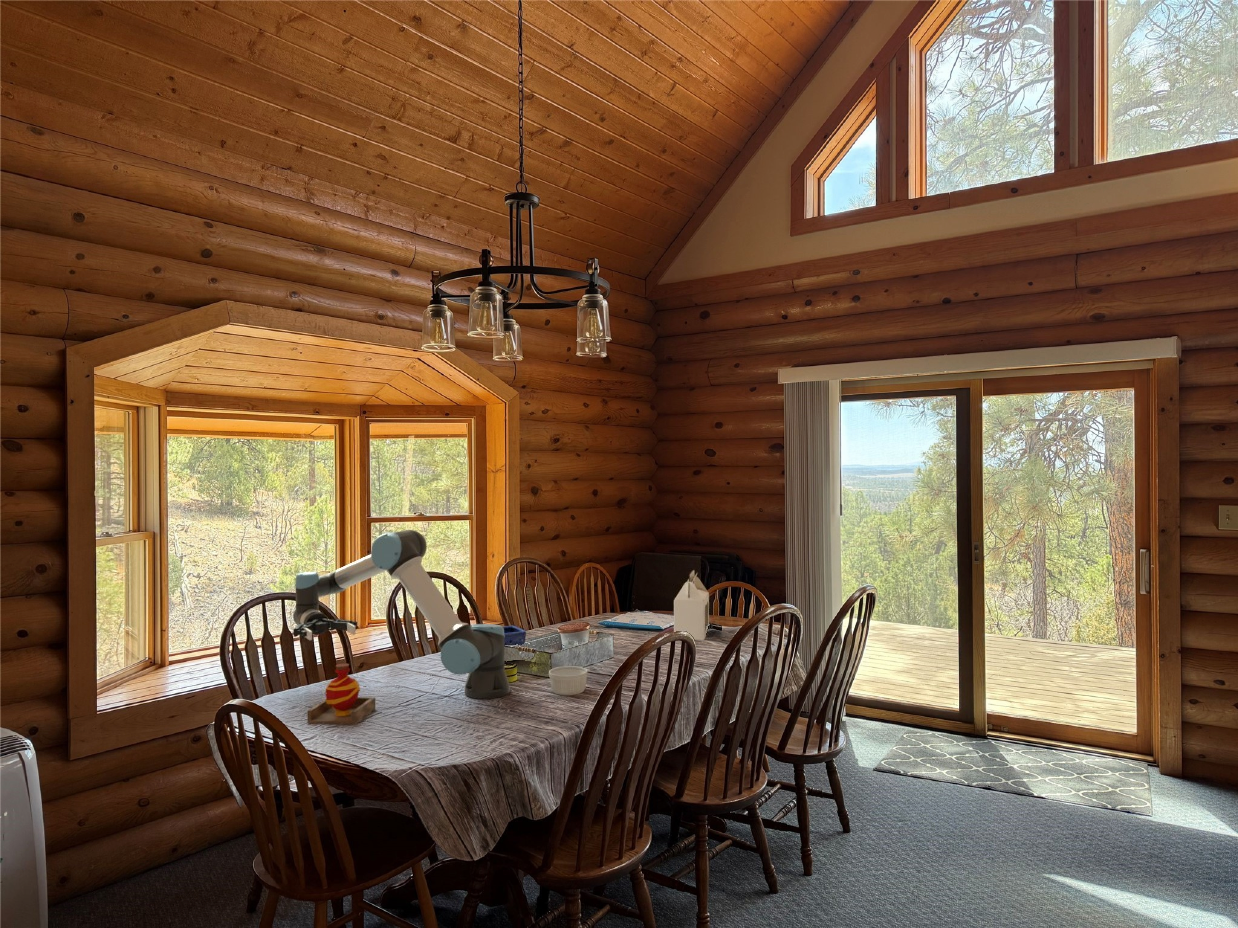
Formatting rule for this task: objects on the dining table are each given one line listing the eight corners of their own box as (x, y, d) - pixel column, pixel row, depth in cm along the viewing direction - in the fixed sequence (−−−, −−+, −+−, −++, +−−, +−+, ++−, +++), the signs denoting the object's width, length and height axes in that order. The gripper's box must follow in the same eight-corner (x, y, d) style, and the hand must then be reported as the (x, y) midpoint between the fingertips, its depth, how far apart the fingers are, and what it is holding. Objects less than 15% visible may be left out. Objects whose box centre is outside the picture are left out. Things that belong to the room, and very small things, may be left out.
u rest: (330, 707, 263) (330, 695, 263) (375, 709, 261) (375, 697, 261) (307, 722, 248) (307, 710, 248) (355, 724, 246) (355, 711, 246)
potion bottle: (349, 719, 249) (349, 669, 248) (318, 717, 251) (318, 668, 250) (366, 709, 259) (366, 661, 259) (336, 707, 261) (336, 659, 261)
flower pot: (495, 665, 316) (495, 634, 315) (482, 658, 327) (482, 628, 327) (527, 661, 322) (527, 630, 322) (513, 654, 334) (513, 624, 334)
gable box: (704, 640, 358) (703, 576, 357) (673, 639, 360) (673, 575, 360) (708, 629, 380) (708, 569, 379) (680, 628, 382) (680, 568, 382)
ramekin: (543, 695, 277) (543, 674, 277) (555, 684, 290) (555, 664, 289) (581, 697, 274) (581, 676, 274) (592, 686, 286) (592, 666, 286)
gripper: (351, 628, 287) (371, 639, 269) (276, 637, 272) (291, 650, 255) (351, 607, 287) (371, 616, 269) (275, 615, 272) (291, 626, 255)
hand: (332, 633), depth 262 cm, fingers open, 13 cm apart
